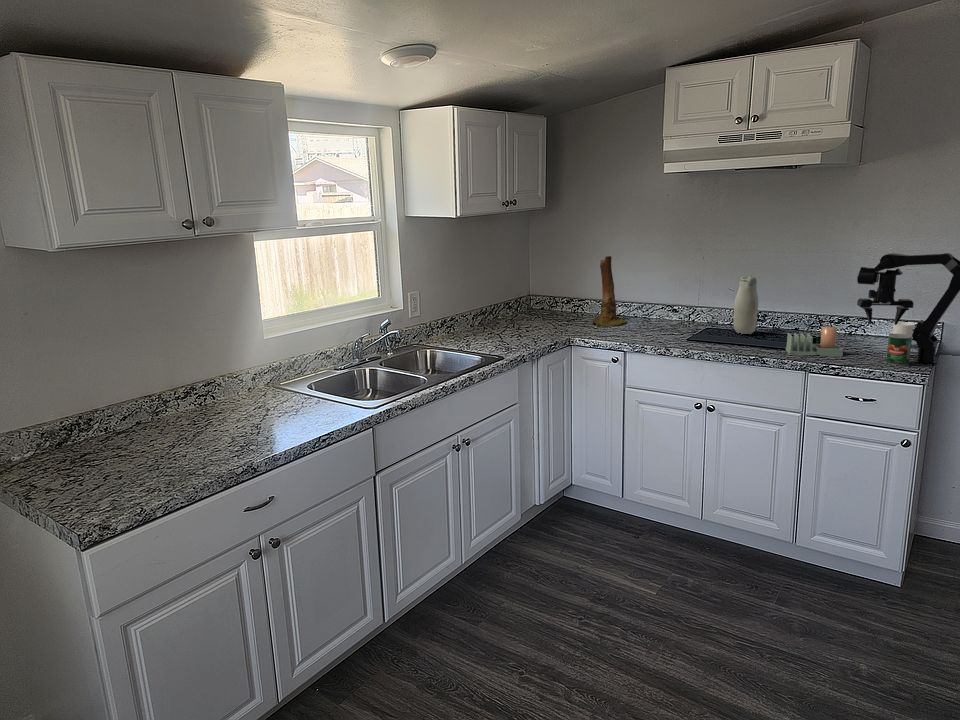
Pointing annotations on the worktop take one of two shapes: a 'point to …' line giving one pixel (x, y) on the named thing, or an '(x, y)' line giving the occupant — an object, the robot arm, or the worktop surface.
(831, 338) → the orange rounded blob
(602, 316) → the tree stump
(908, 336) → the canned tomato
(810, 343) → the dish rack
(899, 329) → the white cup
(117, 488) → the worktop surface
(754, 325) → the glass bottle
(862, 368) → the worktop surface
